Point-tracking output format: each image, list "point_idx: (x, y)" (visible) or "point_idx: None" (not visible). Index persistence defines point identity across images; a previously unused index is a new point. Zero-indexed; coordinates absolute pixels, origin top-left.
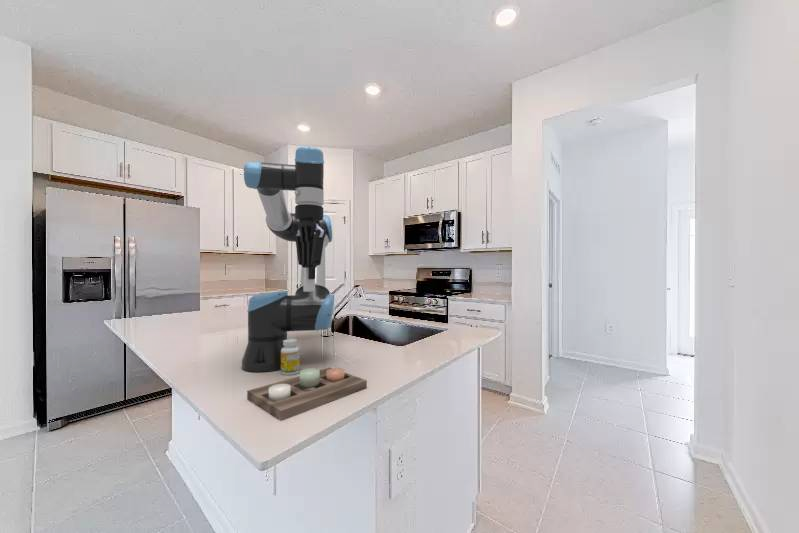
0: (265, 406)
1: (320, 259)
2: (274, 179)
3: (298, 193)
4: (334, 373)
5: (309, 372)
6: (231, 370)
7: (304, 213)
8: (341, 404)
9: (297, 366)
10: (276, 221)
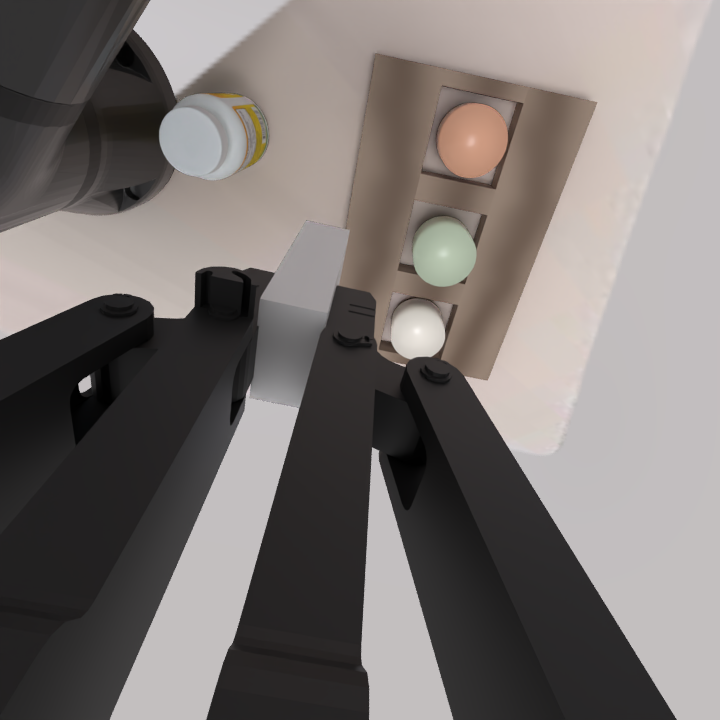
0: None
1: (482, 421)
2: None
3: None
4: (486, 168)
5: (451, 265)
6: (68, 228)
7: None
8: (567, 248)
9: (262, 128)
10: None
